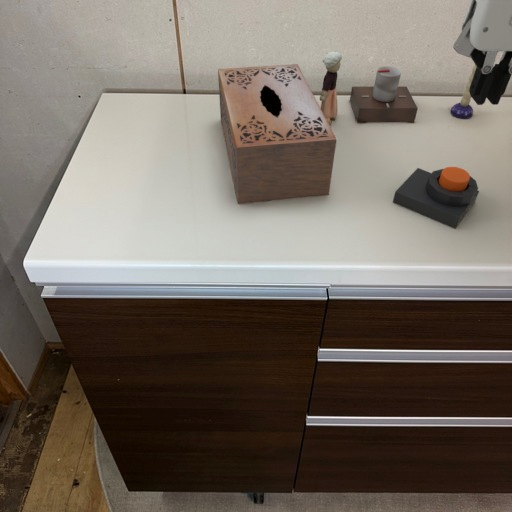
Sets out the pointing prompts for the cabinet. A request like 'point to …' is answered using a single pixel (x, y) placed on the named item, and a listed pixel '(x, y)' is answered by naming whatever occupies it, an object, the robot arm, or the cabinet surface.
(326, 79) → the grandmother figurine
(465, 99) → the toy lamp
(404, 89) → the dimmer panel
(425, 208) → the switch block
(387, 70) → the dimmer knob
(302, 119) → the tissue box cover
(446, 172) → the lamp switch
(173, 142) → the cabinet surface
